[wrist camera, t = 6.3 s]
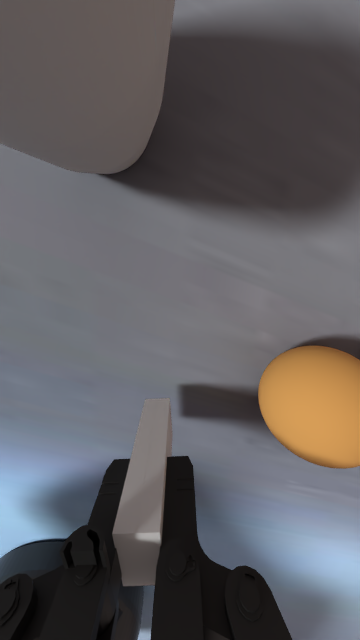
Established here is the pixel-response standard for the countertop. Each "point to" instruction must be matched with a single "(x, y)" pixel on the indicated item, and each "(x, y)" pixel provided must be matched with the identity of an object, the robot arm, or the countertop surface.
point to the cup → (82, 79)
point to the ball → (314, 404)
